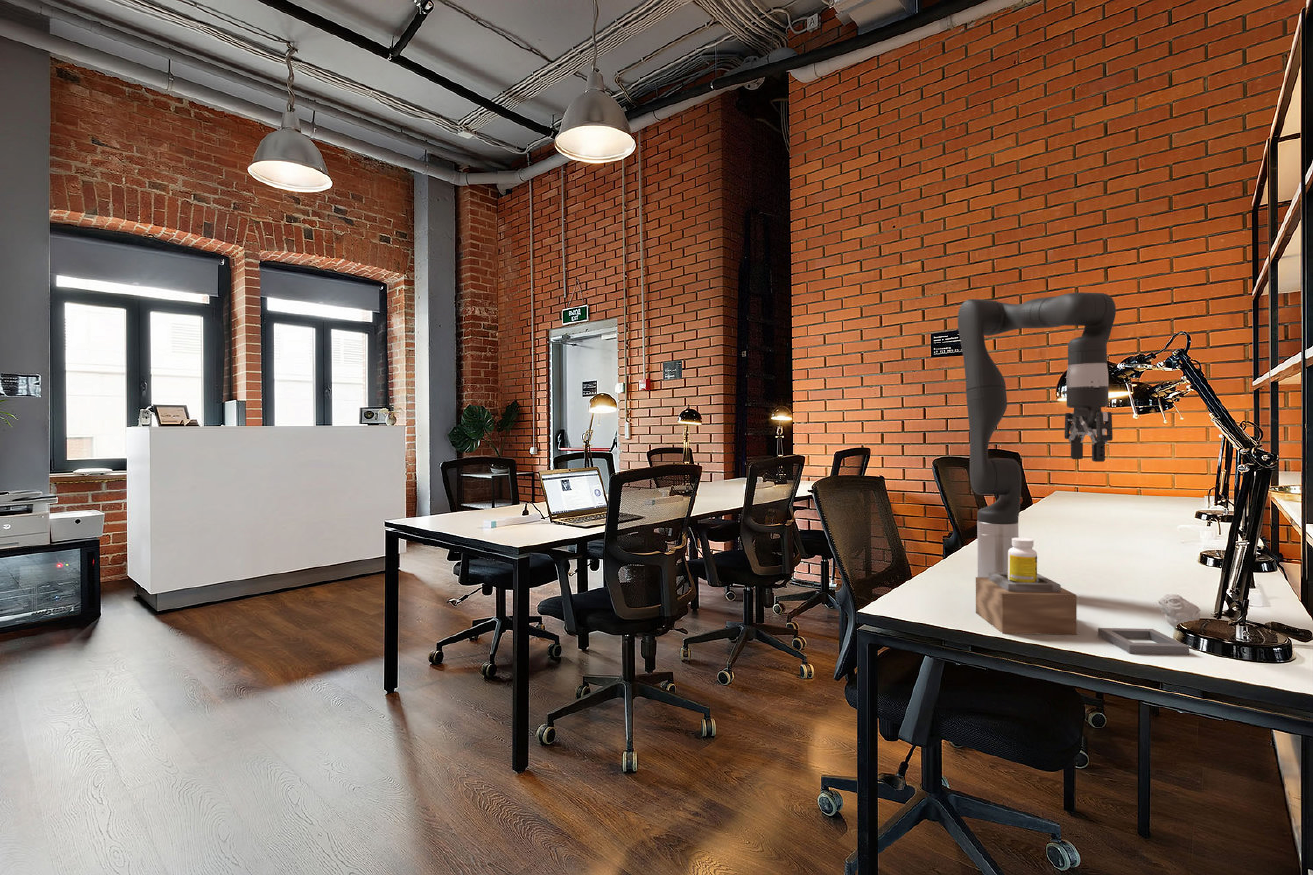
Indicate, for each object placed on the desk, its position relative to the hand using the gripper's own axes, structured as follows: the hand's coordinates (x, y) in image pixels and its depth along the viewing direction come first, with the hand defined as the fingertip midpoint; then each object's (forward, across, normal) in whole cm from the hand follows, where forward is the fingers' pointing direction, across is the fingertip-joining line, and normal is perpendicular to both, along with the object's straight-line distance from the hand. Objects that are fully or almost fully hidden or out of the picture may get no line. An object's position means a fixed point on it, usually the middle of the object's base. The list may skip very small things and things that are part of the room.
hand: (1087, 460), depth 138 cm
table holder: (+34, +18, 0) cm, 38 cm away
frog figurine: (+34, +8, +13) cm, 38 cm away
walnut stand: (+34, +6, -16) cm, 38 cm away
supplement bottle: (+26, +6, -16) cm, 31 cm away
